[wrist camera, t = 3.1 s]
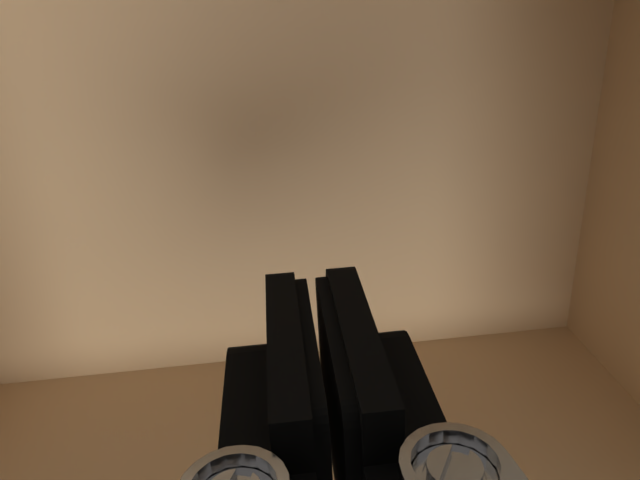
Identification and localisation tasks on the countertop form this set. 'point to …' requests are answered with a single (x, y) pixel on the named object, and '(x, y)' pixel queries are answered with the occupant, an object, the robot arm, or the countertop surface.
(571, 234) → the carton
